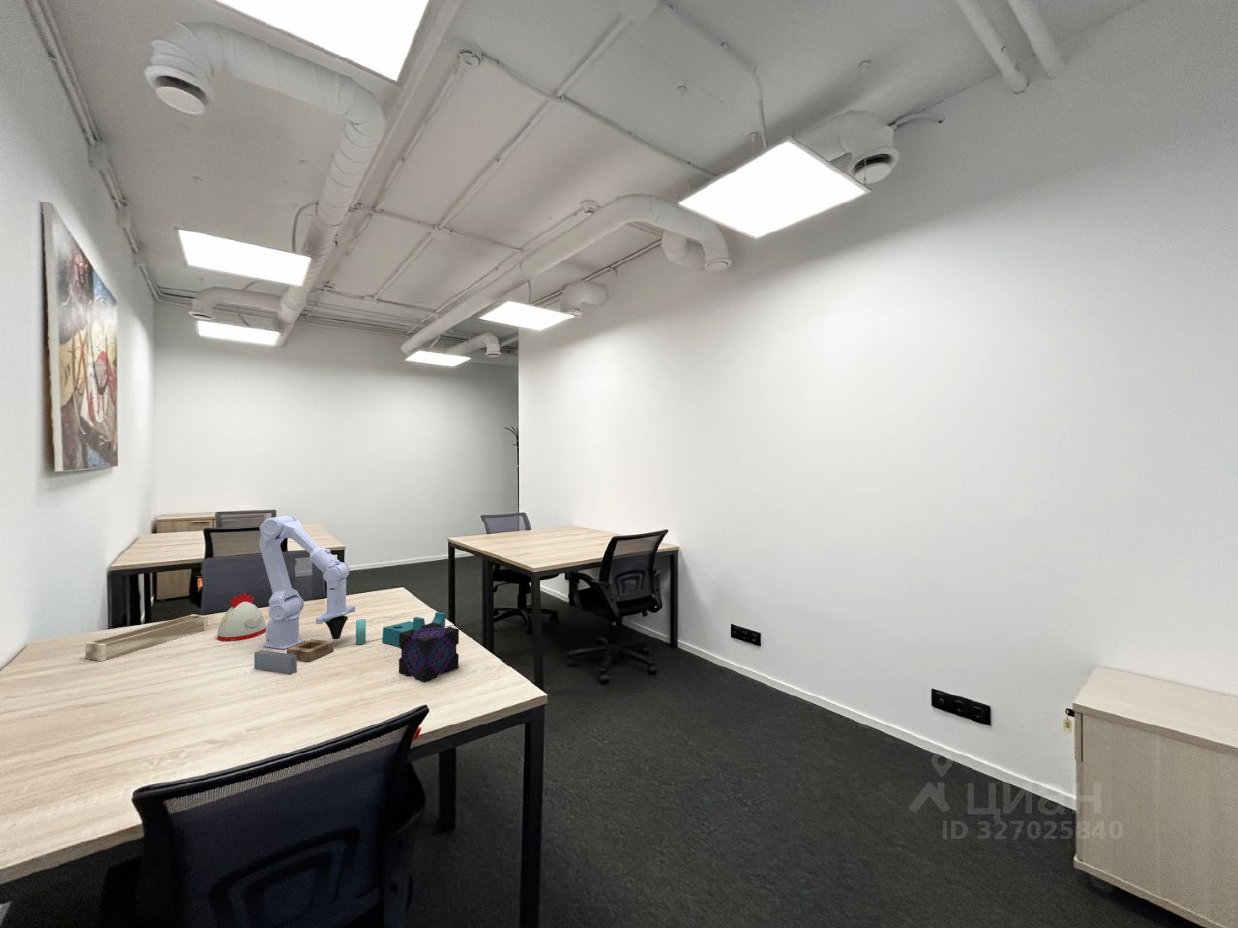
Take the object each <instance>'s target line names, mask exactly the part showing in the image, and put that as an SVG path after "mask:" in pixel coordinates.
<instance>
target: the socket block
mask: <svg viewBox="0 0 1238 928" xmlns="http://www.w3.org/2000/svg"><path fill="white" fill-rule="evenodd" d="M332 652H334V641H328V640H321V639H312V638H311V639H308V640H305V642H302V643H299V644H297V645H294V646H292V647H289V648H287V649H286V654H293V655H297V661H303V662H313V661H314V660H316V659H319V658H322V657H323V656H325V655H327V654H329V653H332Z"/></svg>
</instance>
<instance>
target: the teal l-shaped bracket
mask: <svg viewBox="0 0 1238 928" xmlns="http://www.w3.org/2000/svg"><path fill="white" fill-rule="evenodd" d="M446 617H447V613H445V612H439V611H437V612H435V613H434V617H433V620H432V621H430V623H432V622H434V623H438V624H442V627H444V628H446ZM423 625H426V622H425V618H424V617H418V616H414V617H413V620H412V621H410V620H409V621H404V622H401V623H395V624H391V625H387V626H384V627H382V638H381V639H382V641H381V642H382V643H385V644H387V645H388V644H389V645H392V646H395V647H396V646H397V647H399V633H402V632H405V631H408V630H411V629H413V630H418V629H421V626H423Z"/></svg>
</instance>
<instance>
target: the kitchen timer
mask: <svg viewBox="0 0 1238 928" xmlns="http://www.w3.org/2000/svg"><path fill="white" fill-rule="evenodd" d="M254 600H255V596H252V597H251V594H248V595H247V592H243V594H242V593H239V594H238V597H237V595H233V600H231V599H230V600H229V603H230V605H231V607H230V608H229V609H228V610H227V611H226V612H225V614H224V615H223V616H222V618H221V620H220V623H219V626H218V630H217V632H216V633H217V636H216V637H217V640H218V641H219V642H226V643H227V642H228V643H230V642H240V641H245V640H249V639H253V638H256V637H259V636H262V635H263V634H266V626H267V623H266V621H265V618H264V615H263V614H262V612H261V610H260V609H259V607H257V606H256V604H253V602H254Z"/></svg>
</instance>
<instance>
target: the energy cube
mask: <svg viewBox="0 0 1238 928" xmlns="http://www.w3.org/2000/svg"><path fill="white" fill-rule="evenodd" d="M431 622H432V621H431ZM431 622H430V623H427V624H426V623H425V625H423V626H421V629H418V630H413V629H411V630H408V631H405V632H402V633H399V646H398V648H399V649H401V655H400V658H398V674H400V675H403V676H405V677H411V676H412V677H414V679H415V680H416V681H419V682H422V683H423V684H425V683H428V682H430V681H432V680H434V679H437V678H438V677H439V675H441V674H442V673H444V674H448V673H450V672H452V671H455V670H456V669H457V670H458V669H459V661H460V660H459V656H460V655H459V653H458V652H457V645H458V644H460V642H459V641H460V638H459V637H460V629H459V628H456V627H452V626H447V627H445V628H444V627H442V624H438V623H434V622H432V623H431Z"/></svg>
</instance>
